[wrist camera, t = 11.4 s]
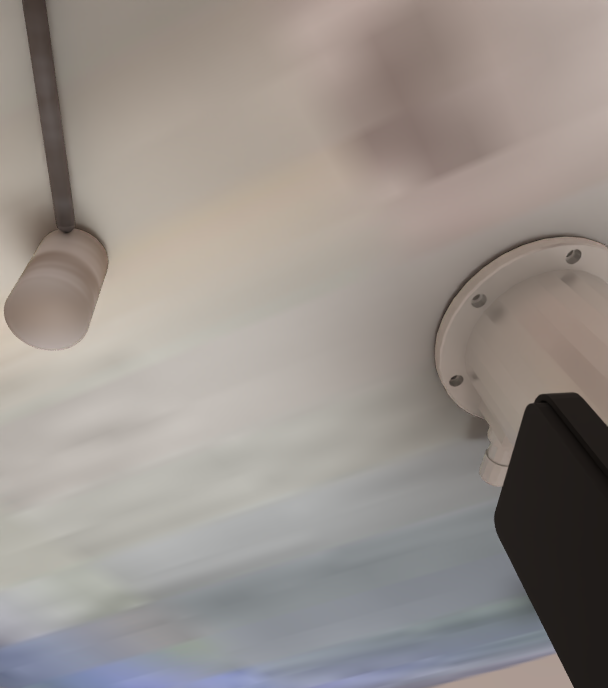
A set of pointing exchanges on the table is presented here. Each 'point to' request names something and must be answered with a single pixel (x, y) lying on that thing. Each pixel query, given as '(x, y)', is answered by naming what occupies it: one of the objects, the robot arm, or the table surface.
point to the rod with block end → (60, 245)
